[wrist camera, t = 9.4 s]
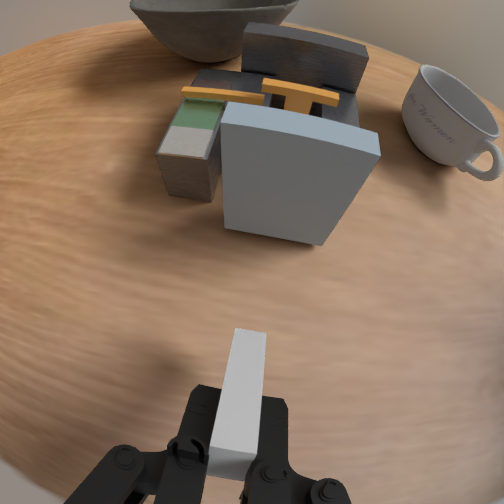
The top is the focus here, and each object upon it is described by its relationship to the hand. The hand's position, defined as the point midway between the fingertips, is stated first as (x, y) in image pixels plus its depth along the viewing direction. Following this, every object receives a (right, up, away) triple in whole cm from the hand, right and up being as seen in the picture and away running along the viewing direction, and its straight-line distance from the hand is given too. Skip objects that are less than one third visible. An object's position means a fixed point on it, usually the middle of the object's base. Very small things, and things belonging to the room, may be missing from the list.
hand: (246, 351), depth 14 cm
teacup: (+21, +16, +13) cm, 29 cm away
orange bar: (+1, +15, +5) cm, 16 cm away
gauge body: (+2, +14, +10) cm, 18 cm away
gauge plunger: (+2, +10, +8) cm, 13 cm away
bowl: (-4, +30, +17) cm, 35 cm away
